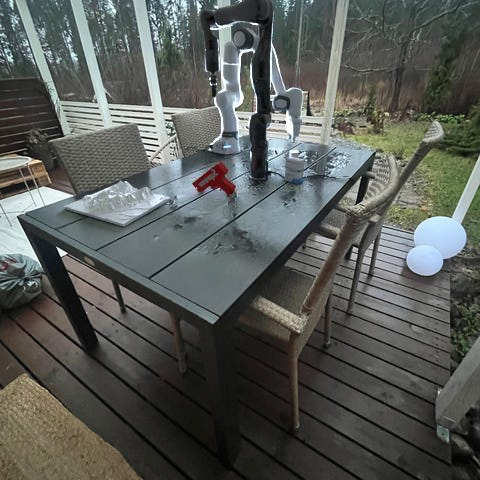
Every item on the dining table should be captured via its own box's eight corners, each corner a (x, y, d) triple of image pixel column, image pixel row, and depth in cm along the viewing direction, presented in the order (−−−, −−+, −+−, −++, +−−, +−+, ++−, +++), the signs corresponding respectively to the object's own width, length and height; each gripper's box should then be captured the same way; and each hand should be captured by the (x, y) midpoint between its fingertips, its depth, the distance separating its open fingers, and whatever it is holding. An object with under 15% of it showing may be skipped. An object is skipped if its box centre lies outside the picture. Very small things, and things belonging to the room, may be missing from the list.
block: (289, 157, 180) (289, 150, 177) (296, 157, 180) (297, 150, 178) (290, 159, 176) (291, 152, 174) (298, 159, 177) (298, 152, 174)
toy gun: (240, 187, 127) (221, 160, 123) (237, 190, 124) (218, 163, 120) (214, 205, 137) (195, 180, 133) (210, 208, 134) (191, 183, 130)
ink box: (302, 181, 142) (305, 159, 136) (297, 184, 139) (300, 161, 133) (289, 177, 147) (291, 156, 141) (284, 180, 144) (285, 158, 138)
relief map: (124, 226, 104) (120, 214, 101) (64, 208, 117) (60, 197, 114) (169, 200, 124) (168, 189, 121) (115, 187, 137) (112, 177, 135)
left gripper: (284, 115, 177) (282, 137, 185) (292, 120, 160) (289, 144, 168) (294, 115, 178) (291, 137, 185) (303, 120, 161) (299, 144, 168)
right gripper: (220, 60, 133) (221, 97, 142) (219, 60, 145) (220, 95, 154) (204, 60, 133) (207, 97, 141) (205, 61, 145) (207, 95, 153)
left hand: (291, 140), depth 176 cm, fingers open, 8 cm apart
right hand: (214, 96), depth 148 cm, fingers open, 8 cm apart
